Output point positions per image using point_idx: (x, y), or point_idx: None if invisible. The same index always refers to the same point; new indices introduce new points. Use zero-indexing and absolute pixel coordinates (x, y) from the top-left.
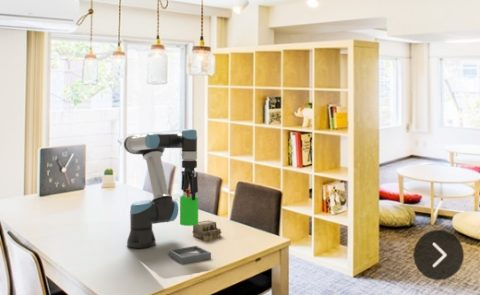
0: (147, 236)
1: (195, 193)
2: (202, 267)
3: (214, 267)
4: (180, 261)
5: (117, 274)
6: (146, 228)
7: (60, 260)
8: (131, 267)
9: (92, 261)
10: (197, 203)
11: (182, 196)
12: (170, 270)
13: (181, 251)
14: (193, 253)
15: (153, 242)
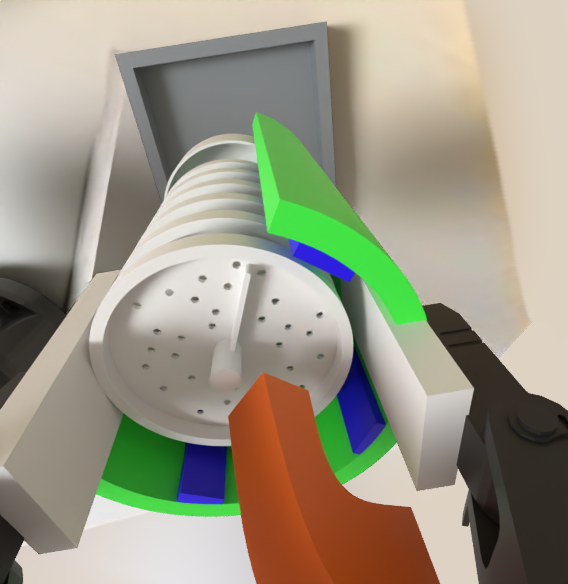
0: (33, 350)
1: (547, 407)
2: (431, 136)
3: (468, 74)
4: None
5: None
6: (2, 386)
7: (137, 510)
8: None
9: None
10: (345, 200)
11: (118, 470)
12: None
13: (168, 172)
14: (204, 106)
15: (29, 298)
